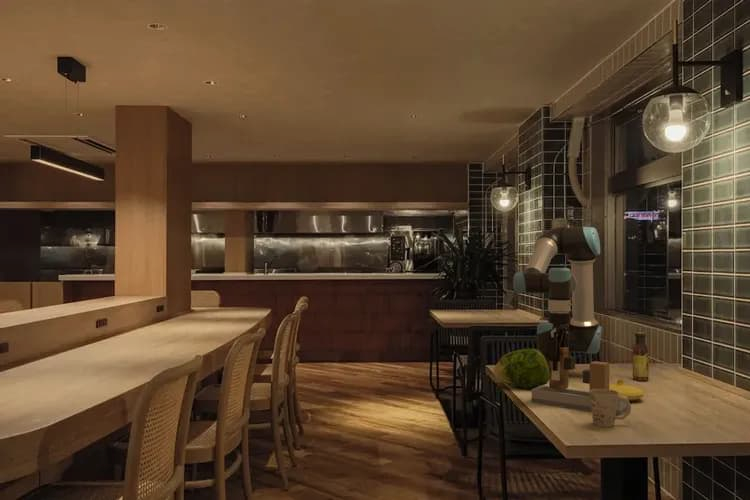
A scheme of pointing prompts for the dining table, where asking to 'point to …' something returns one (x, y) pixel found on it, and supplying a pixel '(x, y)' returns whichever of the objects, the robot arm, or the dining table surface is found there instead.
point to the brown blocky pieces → (578, 391)
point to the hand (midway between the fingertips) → (558, 378)
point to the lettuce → (522, 369)
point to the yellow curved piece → (626, 390)
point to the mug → (606, 406)
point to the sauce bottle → (640, 358)
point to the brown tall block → (562, 369)
